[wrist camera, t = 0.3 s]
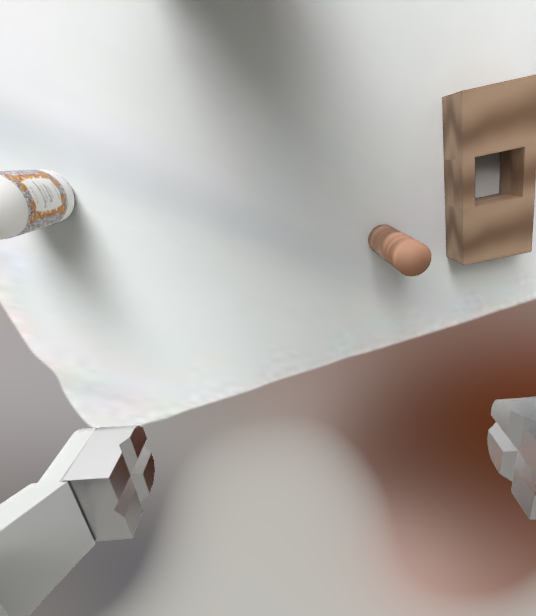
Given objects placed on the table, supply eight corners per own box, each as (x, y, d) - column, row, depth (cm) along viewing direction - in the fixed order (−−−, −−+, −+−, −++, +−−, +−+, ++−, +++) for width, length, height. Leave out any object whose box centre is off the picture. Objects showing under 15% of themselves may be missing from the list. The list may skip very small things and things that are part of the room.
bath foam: (85, 214, 52) (-11, 245, 34) (39, 228, 53) (-80, 266, 34) (61, 162, 50) (-56, 165, 31) (13, 177, 51) (-129, 189, 32)
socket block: (442, 97, 48) (461, 90, 43) (514, 81, 48) (541, 73, 43) (446, 256, 56) (463, 265, 51) (508, 243, 55) (531, 251, 51)
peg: (367, 227, 54) (395, 246, 43) (395, 222, 54) (430, 238, 43) (369, 254, 55) (397, 279, 44) (397, 249, 55) (431, 272, 44)
